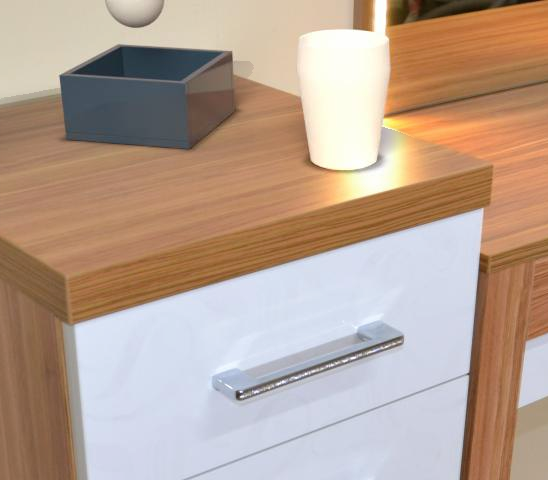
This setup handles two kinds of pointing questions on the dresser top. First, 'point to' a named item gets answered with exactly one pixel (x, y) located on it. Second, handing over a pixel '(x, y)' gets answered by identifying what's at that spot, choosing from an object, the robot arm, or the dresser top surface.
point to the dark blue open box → (148, 95)
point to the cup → (343, 95)
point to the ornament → (135, 11)
